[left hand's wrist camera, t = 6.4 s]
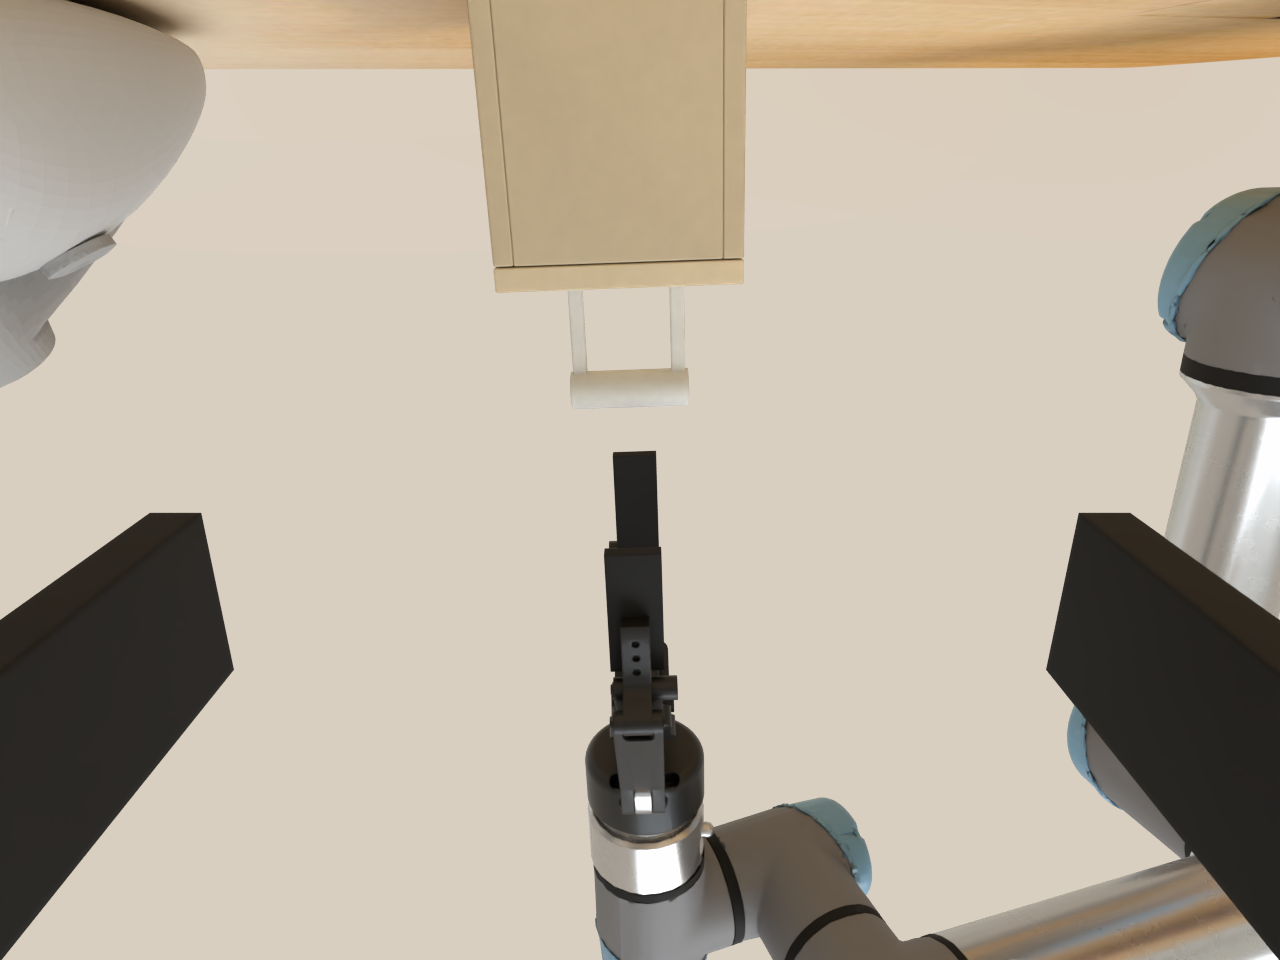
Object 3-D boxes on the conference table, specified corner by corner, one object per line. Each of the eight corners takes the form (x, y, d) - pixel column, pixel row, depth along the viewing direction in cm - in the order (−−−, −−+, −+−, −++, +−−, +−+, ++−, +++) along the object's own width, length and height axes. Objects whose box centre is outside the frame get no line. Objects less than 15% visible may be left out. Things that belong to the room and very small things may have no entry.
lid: (713, 226, 43) (713, 389, 46) (536, 233, 43) (549, 395, 46) (744, 259, 30) (741, 480, 33) (492, 268, 30) (515, 488, 34)
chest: (713, -7, 39) (714, 226, 42) (516, 2, 39) (535, 233, 43) (748, -79, 26) (744, 258, 30) (459, -67, 26) (492, 267, 30)
